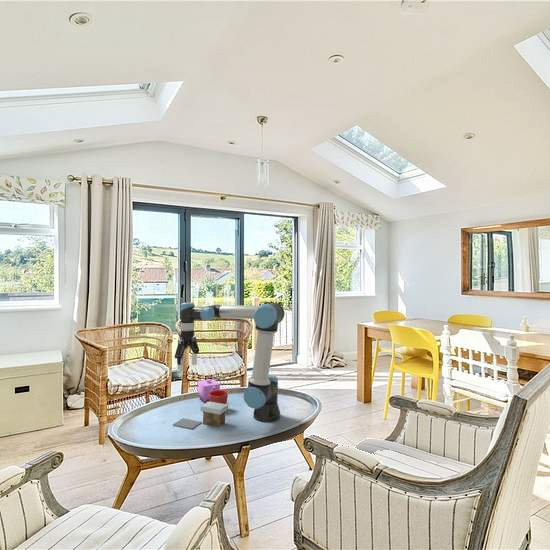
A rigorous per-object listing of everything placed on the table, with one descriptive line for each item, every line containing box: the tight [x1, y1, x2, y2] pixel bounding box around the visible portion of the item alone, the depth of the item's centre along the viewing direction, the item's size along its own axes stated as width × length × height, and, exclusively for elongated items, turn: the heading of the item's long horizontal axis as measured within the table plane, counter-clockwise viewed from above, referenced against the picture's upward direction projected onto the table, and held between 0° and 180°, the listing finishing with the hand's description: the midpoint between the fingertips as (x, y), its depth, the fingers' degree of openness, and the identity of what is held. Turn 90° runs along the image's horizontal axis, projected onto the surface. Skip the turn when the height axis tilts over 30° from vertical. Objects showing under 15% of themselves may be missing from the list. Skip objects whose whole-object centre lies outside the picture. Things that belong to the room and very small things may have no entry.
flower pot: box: [209, 390, 229, 404], centre depth 217 cm, size 11×11×10 cm
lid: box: [200, 401, 229, 414], centre depth 197 cm, size 12×8×4 cm, turn 68°
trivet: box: [172, 418, 203, 430], centre depth 195 cm, size 12×9×1 cm
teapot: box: [197, 378, 221, 404], centre depth 232 cm, size 20×10×12 cm, turn 28°
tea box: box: [202, 411, 226, 428], centre depth 197 cm, size 10×6×7 cm, turn 68°
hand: (187, 367), depth 210 cm, fingers open, 13 cm apart
